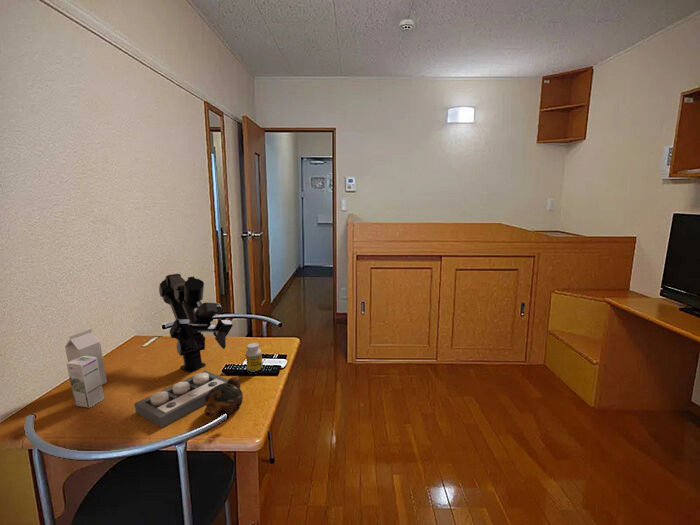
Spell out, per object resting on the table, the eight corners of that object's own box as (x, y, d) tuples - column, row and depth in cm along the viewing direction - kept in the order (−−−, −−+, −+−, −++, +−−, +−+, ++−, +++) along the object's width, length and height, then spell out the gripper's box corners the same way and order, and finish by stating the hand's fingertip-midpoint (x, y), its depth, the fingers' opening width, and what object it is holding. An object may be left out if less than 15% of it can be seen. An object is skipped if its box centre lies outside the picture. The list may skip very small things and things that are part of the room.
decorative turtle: (252, 398, 124) (250, 374, 122) (227, 427, 109) (224, 400, 108) (224, 395, 126) (221, 372, 124) (195, 424, 111) (192, 397, 110)
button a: (147, 403, 118) (147, 397, 118) (163, 395, 122) (162, 389, 122) (156, 408, 115) (155, 401, 115) (172, 400, 119) (171, 394, 119)
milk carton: (107, 382, 137) (98, 330, 133) (86, 393, 131) (76, 337, 127) (94, 379, 140) (84, 327, 136) (72, 389, 134) (62, 335, 130)
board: (135, 412, 118) (134, 401, 117) (206, 378, 137) (205, 369, 136) (161, 427, 110) (160, 416, 109) (232, 389, 129) (231, 379, 128)
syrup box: (105, 399, 126) (97, 356, 124) (88, 409, 121) (80, 364, 118) (91, 397, 128) (83, 354, 125) (74, 407, 122) (65, 362, 120)
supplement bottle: (259, 365, 145) (257, 340, 144) (265, 371, 141) (263, 345, 139) (245, 369, 143) (242, 344, 141) (250, 375, 138) (248, 349, 136)
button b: (170, 392, 124) (169, 386, 123) (184, 386, 128) (183, 380, 127) (179, 397, 121) (178, 390, 121) (193, 390, 125) (192, 384, 124)
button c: (190, 383, 129) (189, 377, 129) (203, 376, 133) (202, 371, 133) (199, 387, 127) (198, 381, 126) (212, 380, 130) (211, 374, 130)
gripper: (177, 292, 122) (192, 329, 113) (231, 296, 135) (248, 329, 126) (163, 318, 126) (177, 356, 117) (217, 319, 139) (233, 354, 130)
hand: (210, 348), depth 122 cm, fingers open, 9 cm apart
